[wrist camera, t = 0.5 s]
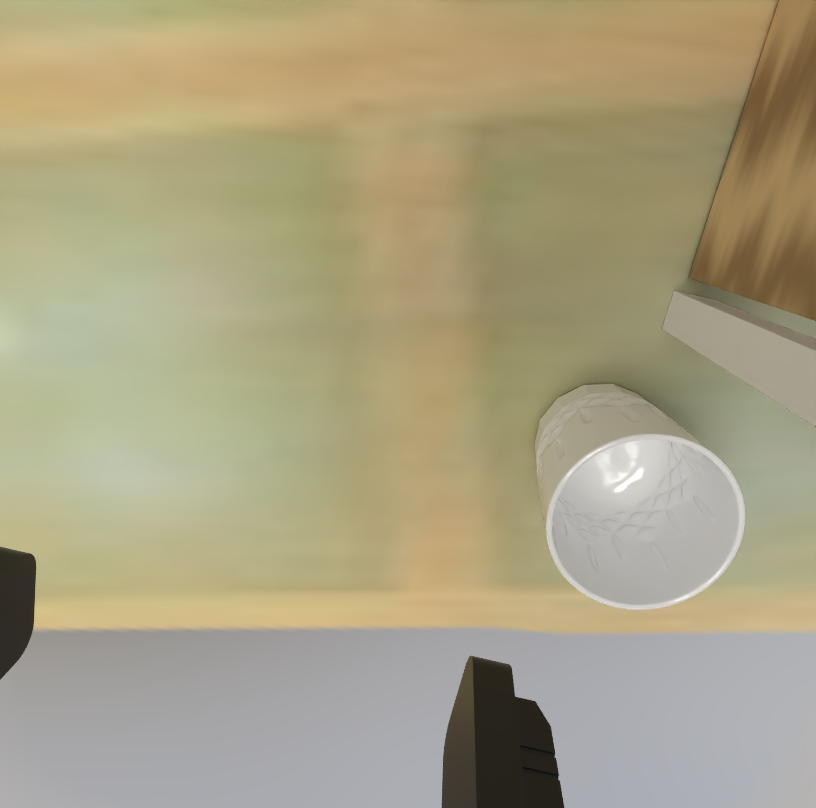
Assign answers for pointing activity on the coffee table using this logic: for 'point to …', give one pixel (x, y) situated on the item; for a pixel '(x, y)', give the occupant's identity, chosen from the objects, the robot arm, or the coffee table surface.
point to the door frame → (749, 349)
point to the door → (771, 178)
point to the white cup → (633, 500)
